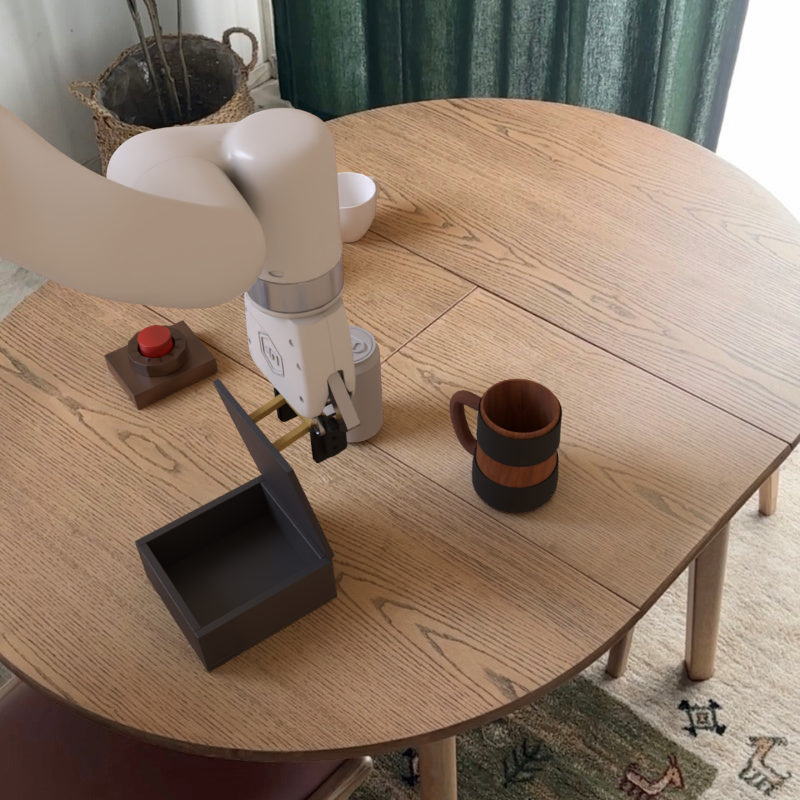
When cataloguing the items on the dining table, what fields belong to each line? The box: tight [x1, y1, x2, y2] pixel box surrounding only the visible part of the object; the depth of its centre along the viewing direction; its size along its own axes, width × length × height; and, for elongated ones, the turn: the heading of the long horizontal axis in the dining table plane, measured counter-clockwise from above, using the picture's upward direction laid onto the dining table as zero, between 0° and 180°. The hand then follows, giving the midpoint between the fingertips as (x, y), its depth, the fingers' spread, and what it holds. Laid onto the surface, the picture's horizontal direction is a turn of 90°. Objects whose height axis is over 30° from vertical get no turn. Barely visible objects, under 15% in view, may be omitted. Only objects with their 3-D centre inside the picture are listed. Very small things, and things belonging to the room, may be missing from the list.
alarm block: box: [103, 319, 219, 411], centre depth 119 cm, size 10×8×4 cm
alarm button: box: [138, 324, 173, 358], centre depth 118 cm, size 4×4×2 cm
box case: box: [134, 474, 338, 673], centre depth 98 cm, size 14×13×6 cm
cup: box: [337, 171, 381, 243], centre depth 136 cm, size 8×10×7 cm
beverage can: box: [323, 325, 384, 443], centre depth 110 cm, size 6×6×12 cm
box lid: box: [212, 378, 336, 560], centre depth 93 cm, size 14×13×6 cm
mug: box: [448, 378, 563, 515], centre depth 104 cm, size 9×12×12 cm
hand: (312, 432), depth 93 cm, fingers closed on box lid, 5 cm apart
